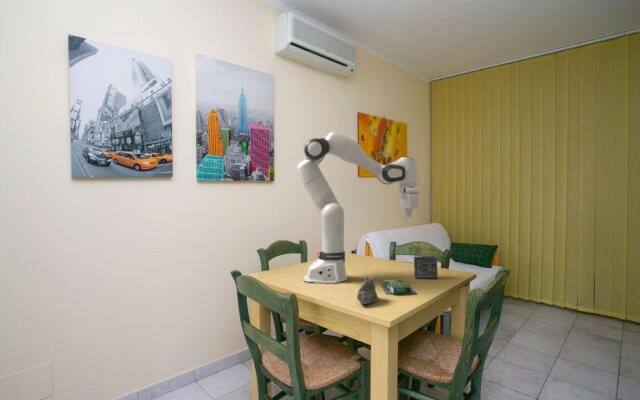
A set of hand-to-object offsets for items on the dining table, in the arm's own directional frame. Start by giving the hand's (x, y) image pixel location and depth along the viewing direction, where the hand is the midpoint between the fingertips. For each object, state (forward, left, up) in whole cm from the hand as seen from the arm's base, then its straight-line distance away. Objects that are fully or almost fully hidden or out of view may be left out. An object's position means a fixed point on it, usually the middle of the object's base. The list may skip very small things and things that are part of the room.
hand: (408, 217), depth 171 cm
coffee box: (-10, -27, -29) cm, 41 cm away
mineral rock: (-27, -34, -31) cm, 54 cm away
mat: (-10, -18, -31) cm, 38 cm away
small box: (+9, +2, -31) cm, 33 cm away
